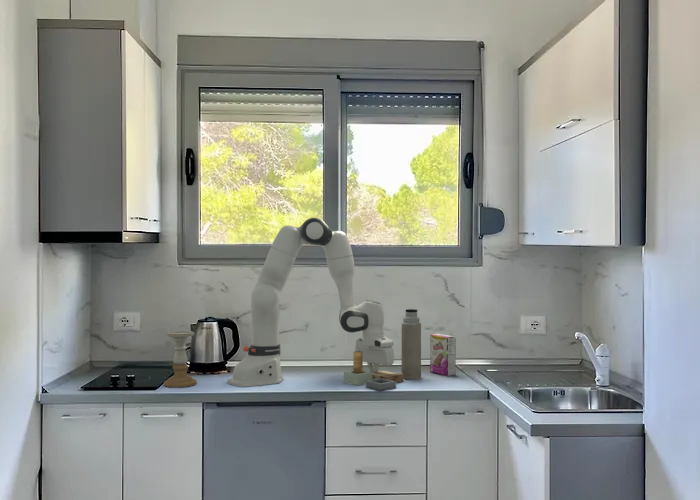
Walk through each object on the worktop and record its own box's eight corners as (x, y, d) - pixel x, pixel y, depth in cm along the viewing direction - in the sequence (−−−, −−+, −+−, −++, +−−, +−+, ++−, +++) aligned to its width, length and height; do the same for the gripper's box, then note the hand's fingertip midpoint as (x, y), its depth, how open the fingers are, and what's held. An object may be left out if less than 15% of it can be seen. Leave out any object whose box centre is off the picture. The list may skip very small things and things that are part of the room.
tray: (380, 391, 229) (380, 384, 229) (365, 387, 235) (365, 380, 235) (395, 388, 234) (395, 381, 234) (381, 384, 240) (381, 378, 240)
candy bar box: (429, 372, 265) (429, 334, 265) (438, 371, 268) (438, 333, 268) (447, 376, 256) (447, 336, 256) (456, 375, 259) (456, 336, 259)
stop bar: (385, 384, 239) (385, 377, 239) (380, 383, 242) (380, 376, 242) (403, 381, 246) (403, 373, 246) (398, 380, 248) (398, 372, 248)
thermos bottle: (397, 378, 253) (397, 309, 253) (407, 374, 259) (407, 308, 260) (415, 380, 248) (415, 310, 248) (424, 377, 255) (424, 309, 255)
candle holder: (203, 383, 243) (203, 331, 243) (182, 389, 232) (182, 335, 232) (178, 380, 248) (178, 330, 248) (156, 386, 237) (156, 333, 237)
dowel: (357, 383, 242) (357, 353, 242) (351, 382, 244) (351, 351, 244) (364, 382, 244) (364, 352, 244) (358, 381, 247) (358, 351, 247)
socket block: (357, 385, 238) (357, 375, 238) (343, 382, 245) (343, 372, 245) (372, 382, 244) (372, 372, 244) (358, 379, 250) (358, 369, 250)
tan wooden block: (379, 383, 243) (379, 376, 243) (367, 380, 248) (367, 373, 248) (395, 380, 249) (395, 373, 249) (383, 378, 254) (383, 370, 254)
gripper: (350, 338, 258) (350, 371, 258) (385, 343, 243) (385, 378, 243) (362, 336, 262) (362, 369, 262) (396, 342, 247) (396, 376, 247)
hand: (373, 374), depth 252 cm, fingers closed
